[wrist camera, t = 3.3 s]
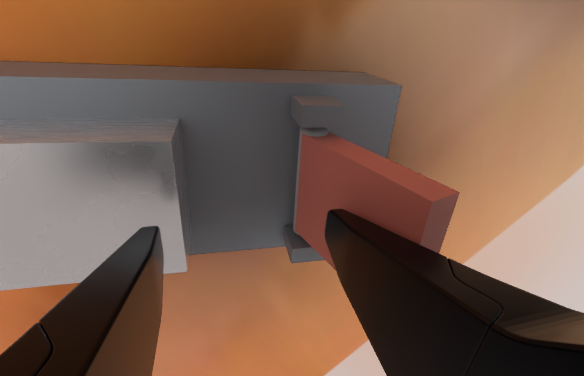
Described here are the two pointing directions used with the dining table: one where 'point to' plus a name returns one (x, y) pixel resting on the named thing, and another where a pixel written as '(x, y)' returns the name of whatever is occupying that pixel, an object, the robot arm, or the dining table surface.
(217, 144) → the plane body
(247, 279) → the dining table surface
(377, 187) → the lever
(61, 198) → the light grey flat block
